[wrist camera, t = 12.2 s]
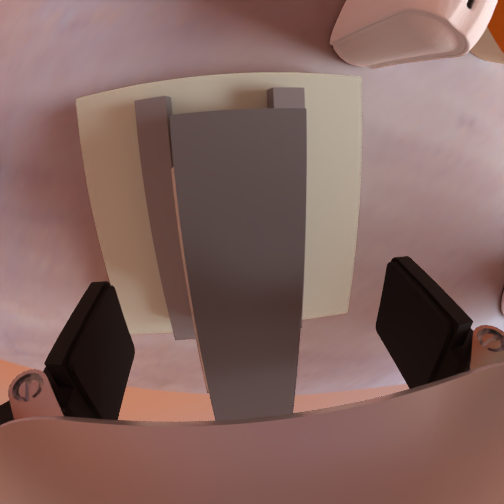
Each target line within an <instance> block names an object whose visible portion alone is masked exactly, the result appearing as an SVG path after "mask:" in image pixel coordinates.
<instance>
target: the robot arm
mask: <svg viewBox="0 0 504 504" xmlns="http://www.w3.org/2000/svg"><path fill="white" fill-rule="evenodd" d="M501 309H502V313H503V315H504V291H503V295H502V301H501ZM472 323H473V321H472V320H471V319H470V317H469V316H468V315H467V314H466V313H465V312H464V311H463V310H462V309H461V308H460V307H459V306H458V305H457V304H456V303H455V302H454V300H453V299H452V298H451V297H450V296H449V295H448V294H447V293H446V292H445V291H444V290H443V289H442V288H441V287H440V286H439V285H438V284H437V283H436V282H435V281H434V280H433V279H432V278H431V277H430V276H429V275H428V274H427V273H426V272H425V271H424V270H422V269H421V268H420V267H419V266H418V265H417V264H416V263H415V262H414V261H413V260H412V259H411V258H410V257H408V256H405V257H395V258H393V259H392V260H391V262H389V263H388V264H387V269H386V275H385V280H384V286H383V291H382V297H381V302H380V307H379V312H378V316H377V321H376V330H377V333H378V335H379V336H380V338H381V340H382V341H383V343H384V345H385V346H386V348H387V350H388V352H389V353H390V355H391V357H392V358H393V360H394V362H395V364H396V365H397V367H398V369H399V371H400V372H401V374H402V376H403V378H404V379H405V381H406V383H407V385H408V387H409V388H410V389H408V390H404V391H401V392H397V393H393V394H390V395H386V396H381V397H377V398H374V399H369V400H365V401H360V402H355V403H351V404H345V405H341V406H335V407H330V408H325V409H319V410H312V411H306V412H300V413H292V414H285V415H277V416H268V417H259V418H248V419H235V420H219V421H197V422H196V421H195V422H152V421H124V420H118V416H119V412H120V408H121V404H122V400H123V396H124V392H125V388H126V384H127V381H128V377H129V373H130V370H131V366H132V362H133V359H134V355H135V349H134V344H133V342H132V339H131V336H130V333H129V330H128V327H127V324H126V321H125V318H124V315H123V312H122V309H121V306H120V302H119V299H118V296H117V293H116V289H115V287H114V286H113V285H110V284H109V282H107V281H106V282H92V283H91V284H90V286H89V287H88V289H87V290H86V292H85V293H84V295H83V297H82V298H81V300H80V301H79V303H78V305H77V306H76V308H75V310H74V311H73V313H72V315H71V316H70V318H69V320H68V321H67V323H66V325H65V327H64V328H63V330H62V332H61V333H60V335H59V337H58V339H57V341H56V342H55V344H54V346H53V348H52V350H51V351H50V353H49V355H48V357H47V359H46V361H45V363H44V364H45V365H46V367H45V369H44V371H43V372H42V371H40V370H36V369H34V370H28V371H25V372H23V373H21V374H19V375H18V376H17V377H16V378H15V379H14V380H13V381H12V383H11V384H10V386H9V390H8V396H9V401H8V402H6V403H4V404H2V405H0V504H504V332H503V331H501V330H500V329H498V328H496V327H493V326H488V325H483V326H479V327H477V328H476V329H475V330H474V332H473V330H472V329H471V325H472Z"/></svg>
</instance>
